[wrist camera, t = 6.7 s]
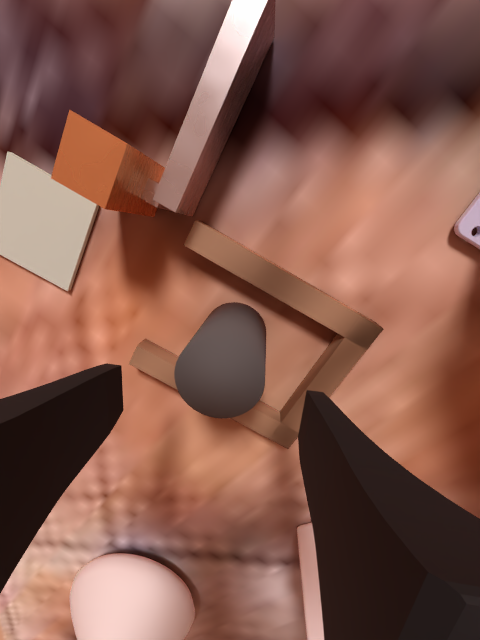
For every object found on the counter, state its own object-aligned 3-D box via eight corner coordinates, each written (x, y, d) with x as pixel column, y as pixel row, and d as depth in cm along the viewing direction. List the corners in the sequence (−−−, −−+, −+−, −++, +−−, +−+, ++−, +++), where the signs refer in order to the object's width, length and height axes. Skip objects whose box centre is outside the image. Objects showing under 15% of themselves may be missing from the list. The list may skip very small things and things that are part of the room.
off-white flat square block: (100, 203, 16) (97, 202, 16) (70, 290, 18) (67, 291, 18) (12, 152, 16) (7, 151, 15) (-9, 247, 18) (-13, 247, 17)
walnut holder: (375, 322, 16) (383, 328, 15) (286, 436, 20) (288, 449, 18) (200, 220, 16) (195, 219, 15) (137, 356, 19) (128, 363, 18)
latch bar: (274, 37, 13) (277, -79, 8) (184, 234, 16) (148, 234, 11) (192, -16, 13) (145, -167, 8) (116, 195, 16) (50, 178, 11)
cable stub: (278, 322, 17) (282, 366, 11) (246, 371, 18) (236, 432, 13) (222, 290, 17) (198, 319, 11) (194, 342, 18) (160, 391, 12)
